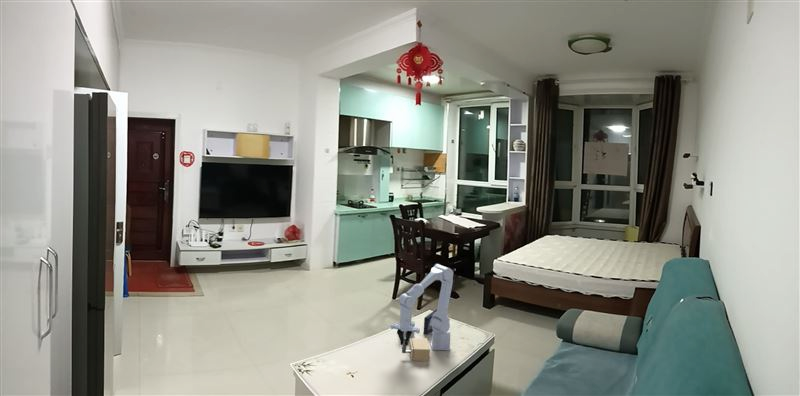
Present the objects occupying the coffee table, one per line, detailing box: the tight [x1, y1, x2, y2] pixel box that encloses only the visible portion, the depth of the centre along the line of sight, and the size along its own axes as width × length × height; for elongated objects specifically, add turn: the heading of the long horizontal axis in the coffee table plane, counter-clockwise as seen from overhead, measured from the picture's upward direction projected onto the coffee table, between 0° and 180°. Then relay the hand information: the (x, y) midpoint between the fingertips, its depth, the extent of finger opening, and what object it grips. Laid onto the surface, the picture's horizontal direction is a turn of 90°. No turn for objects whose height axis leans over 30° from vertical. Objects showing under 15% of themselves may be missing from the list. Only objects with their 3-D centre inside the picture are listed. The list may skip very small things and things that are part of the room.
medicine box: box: [403, 320, 416, 340], centre depth 222 cm, size 8×4×9 cm, turn 84°
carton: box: [411, 337, 431, 362], centre depth 202 cm, size 8×12×6 cm, turn 4°
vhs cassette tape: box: [423, 308, 437, 335], centre depth 233 cm, size 18×3×10 cm, turn 147°
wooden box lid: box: [401, 338, 413, 361], centre depth 201 cm, size 5×12×10 cm, turn 4°
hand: (404, 344), depth 198 cm, fingers closed on wooden box lid, 2 cm apart
